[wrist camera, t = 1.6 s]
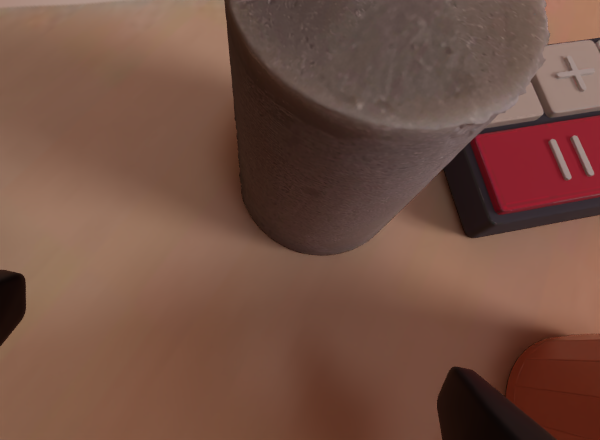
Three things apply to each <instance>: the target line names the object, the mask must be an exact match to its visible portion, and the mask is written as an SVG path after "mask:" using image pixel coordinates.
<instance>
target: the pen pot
mask: <svg viewBox="0 0 600 440" xmlns="http://www.w3.org/2000/svg"><path fill="white" fill-rule="evenodd" d="M506 398H507V399H508V400H510V401H511V402H512V403H513V404H515V405H516V406H517V407H518V408H519V409H521V410H522V411H523V412H524V413H525V414H527V415H528V416H529V417H530V418H532V419H533V420H534V421H535V422H536V423H538V424H539V425H540V426H541V427H542V428H544V429H545V430H546V431H547V432H549V433H550V434H551V435H552V436H553V437H555V438H556V439H557V440H600V334H580V335H567V336H563V337H552V338H547V339H544V340H541V341H539V342H537V343H535V344H533V345H532V346H530V347H529V348H528V349H526V350H525V351H524V352H523V353H522V354H521V355H520V357H519V358H518V360H517V361H516V362H515V364H514V366H513V368H512V370H511V373H510V376H509V379H508V383H507V389H506Z"/></svg>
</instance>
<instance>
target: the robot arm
mask: <svg viewBox="0 0 600 440" xmlns="http://www.w3.org/2000/svg"><path fill="white" fill-rule="evenodd" d="M25 310H26V282H25V278H24V276H23V275H22V274H20V273H16V272H11V271H7V270H0V346H1V345H2V344H3V342H4V341H5V340H6V339H7V337H8V336H9V335H10V334H11V333H12V331H13V330H14V329H15V328H16V326H17V325H18V324H19V323H20V321H21V320H22V318H23V317H24V314H25ZM437 410H438V416H439V422H440V428H441V434H442V440H557V439H556V438H555V437H553V436H552V435H551V434H550V433H549V432H547V431H546V430H545V429H544V428H542V427H541V426H540V425H539V424H538V423H536V422H535V421H534V420H533V419H532V418H530V417H529V416H528V415H527V414H525V413H524V412H523V411H522V410H521V409H519V408H518V407H517V406H516V405H515V404H513V403H512V402H511V401H510V400H508V399H507V398H506V397H505V396H504V395H502V394H501V393H500V392H499V391H498V390H496V389H495V388H494V387H493V386H491V385H490V384H489V383H488V382H487V381H485V380H484V379H483V378H482V377H481V376H479V375H478V374H477V373H476V372H474V371H473V370H470V369H466V368H461V367H452V368H451V369H450V370H449V372H448V374H447V377H446V379H445V381H444V384H443V386H442V388H441V391H440V393H439V396H438V400H437Z"/></svg>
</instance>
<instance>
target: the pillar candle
mask: <svg viewBox="0 0 600 440" xmlns="http://www.w3.org/2000/svg"><path fill="white" fill-rule="evenodd" d="M545 7H546V2H545V0H225V11H226V20H227V33H228V43H229V55H230V65H231V75H232V88H233V97H234V111H235V121H236V129H237V140H238V142H237V143H238V159H239V167H240V175H239V177H240V181H241V188H242V189H241V191H242V192H241V193H242V197H243V202H244V204H245V206H246V208H247V210H248V212H249V214H250V215H251V217H252V219H253V220H254V221H255V223H256V224H257V225H258V226H259V227H260V228H261V229H262V230H263V231H264V232H265V233H266V234H267V235H268V236H269V237H271V238H272V239H273V240H275V241H276V242H278V243H279V244H281V245H283V246H285V247H287V248H289V249H292V250H295V251H297V252H300V253H307V254H312V255H332V254H339V253H343V252H346V251H350V250H353V249H355V248H357V247H359V246H361V245H363V244H364V243H366V242H367V241H369V240H370V239H371V238H372V237H373V236H375V235H376V234H377V233H378V232H379V231H380V230H381V229H382V228H383V227H384V226H385V225H386V224H387V223H388V222H389V221H390V220H391V219H392V218H394V216H395V215H396V214H397V213H399V212H400V211H401V210H402V209H403V208H404V207H405V206H406V205H407V204H408V203H409V202H410V201H411V200H412V199H413V198H414V197H415V196H416V195H417V194H418V193H419V192H420V191H421V190H422V189H423V188H424V187H425V186H426V185H427V184H428V183H429V182H430V181H431V180H432V179H433V178H434V177H435V176H436V175H437V174H438V173H439V172H440V171H441V170H442V169H443V168H444V167H445V166H446V165H448V164H449V163H450V162H451V161H452V160H453V159H454V157H455V156H456V155H457V154H458V153H459V152H460V151H461V150H462V149H463V148H464V147H465V146H466V145H467V144H468V143H469V142H470V141H471V140H472V139H474V138H475V137H476V136H477V135H478V134H479V133H480V132H481V131H482V130H483V129H485V128H486V127H487V126H488V125H489V124H490V123H491V122H492V121H493V120H494V119H495V118H496V116H497V115H498V114H501V113H505V112H506V111H507V110H508V109H510V108H512V107H513V106H514V105H515V104H516V103H517V102H518V97H519V96H520V95H522V94H524V93H526V87H527V86H528V85H529V84H530V82H531V79H532V78H533V77H534V75H535V74H536V72H537V70H538V69H539V68H540V67H542V66H543V63H544V62H545V61H546V59H545V58H544V57H543V51H544V47H545V46H547V44H548V41H549V37H550V33H549V31H548V23H547V22H548V20H547V15H546V11H545V9H544V8H545Z"/></svg>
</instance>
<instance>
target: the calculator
mask: <svg viewBox="0 0 600 440" xmlns="http://www.w3.org/2000/svg"><path fill="white" fill-rule="evenodd" d="M543 57H544V58H545V59H546V61H545V62H544V63H543V66H542V67H540V68H539V69H538V70H537V72H536V74H535V75H534V77H533V78H532V79H531V82H530V84H529V85H528V86H527V87H526V93H524V94H522V95H520V96H519V97H518V102H517V103H516V104H515V105H514V106H513V107H512V108H510V109H508V110H507V111H506V112H505V113H501V114H498V115H497V116H496V118H495V119H494V120H493V121H492V122H491V123H490V124H489V125H488V126H487V127H486V128H485V129H483V130H482V131H481V132H480V133H479V134H478V135H477V136H476V137H475V138H474V139H472V140H471V141H470V142H469V143H468V144H467V145H466V146H465V147H464V148H463V149H462V150H461V151H460V152H459V153H458V154H457V155H456V156H455V157H454V159H453V160H452V161H451V162H450V163H449V164H448V165H446V166H445V167H444V168H443V169H444V172H445V175H446V177H447V180H448V183H449V186H450V189H451V192H452V195H453V198H454V201H455V204H456V207H457V210H458V213H459V216H460V219H461V222H462V225H463V228H464V231H465V233H466V235H467V236H468V237H470V238H477V237H483V236H488V235H493V234H499V233H504V232H509V231H515V230H520V229H525V228H531V227H536V226H541V225H547V224H552V223H557V222H563V221H568V220H573V219H579V218H584V217H589V216H595V215H600V38H595V39H587V40H580V41H572V42H565V43H557V44H550V45H547V46H545V47H544V51H543Z"/></svg>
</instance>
